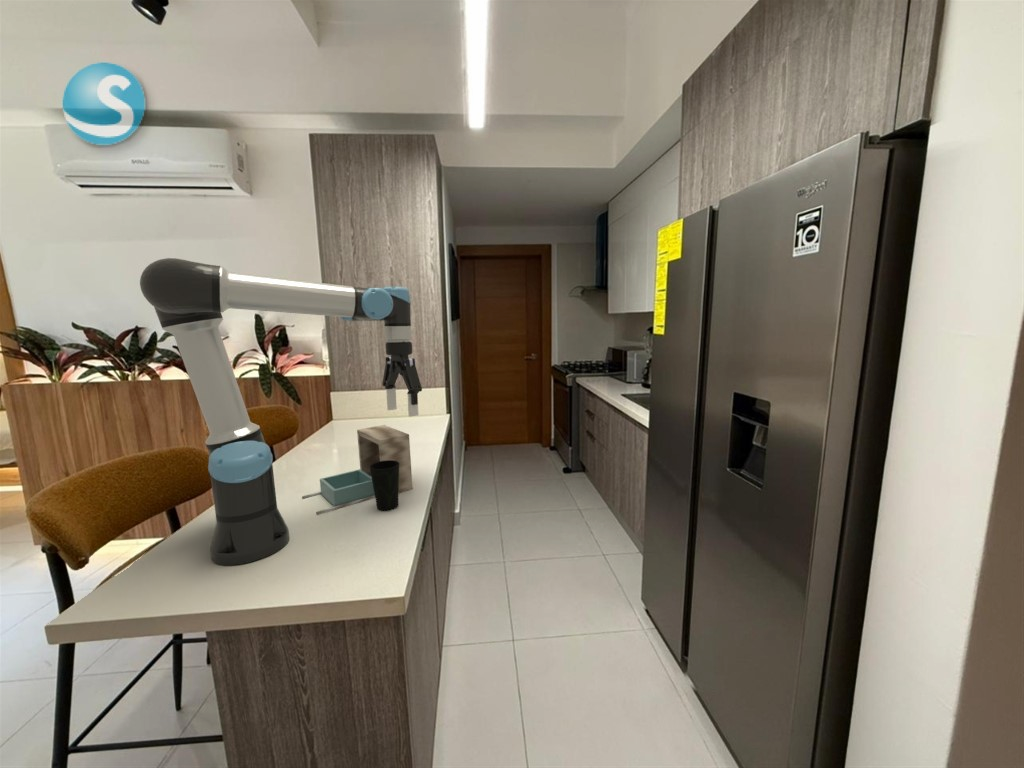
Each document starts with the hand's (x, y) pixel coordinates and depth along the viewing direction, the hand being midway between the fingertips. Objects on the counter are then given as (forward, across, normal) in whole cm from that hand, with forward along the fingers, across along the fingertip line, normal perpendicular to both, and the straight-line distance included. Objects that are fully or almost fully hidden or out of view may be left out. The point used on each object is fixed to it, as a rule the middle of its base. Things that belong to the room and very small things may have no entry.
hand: (402, 412), depth 125 cm
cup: (+24, -9, +10) cm, 27 cm away
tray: (+24, +7, +15) cm, 29 cm away
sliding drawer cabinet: (+24, +7, +12) cm, 28 cm away
